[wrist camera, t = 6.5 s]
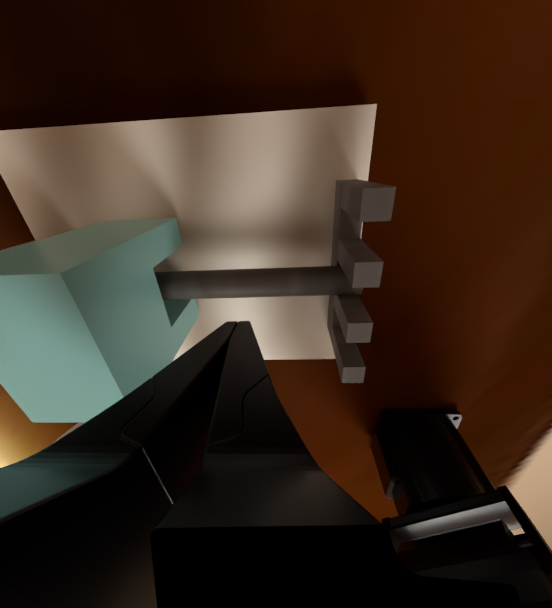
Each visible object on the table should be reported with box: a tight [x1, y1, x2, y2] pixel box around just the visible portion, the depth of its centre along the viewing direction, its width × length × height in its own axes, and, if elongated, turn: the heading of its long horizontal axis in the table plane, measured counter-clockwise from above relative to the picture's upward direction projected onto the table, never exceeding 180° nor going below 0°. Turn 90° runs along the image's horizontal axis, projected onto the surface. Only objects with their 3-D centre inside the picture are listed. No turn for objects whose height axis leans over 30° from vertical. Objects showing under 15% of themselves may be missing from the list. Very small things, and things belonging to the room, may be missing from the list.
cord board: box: [0, 104, 396, 383], centre depth 13 cm, size 18×14×6 cm
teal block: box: [0, 218, 199, 422], centre depth 11 cm, size 4×6×7 cm
